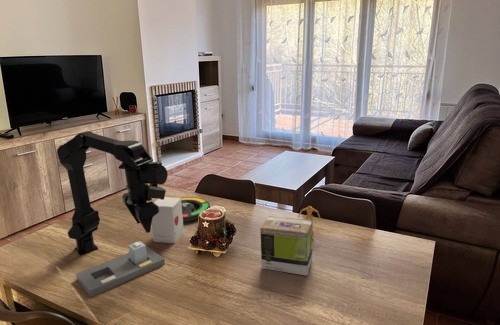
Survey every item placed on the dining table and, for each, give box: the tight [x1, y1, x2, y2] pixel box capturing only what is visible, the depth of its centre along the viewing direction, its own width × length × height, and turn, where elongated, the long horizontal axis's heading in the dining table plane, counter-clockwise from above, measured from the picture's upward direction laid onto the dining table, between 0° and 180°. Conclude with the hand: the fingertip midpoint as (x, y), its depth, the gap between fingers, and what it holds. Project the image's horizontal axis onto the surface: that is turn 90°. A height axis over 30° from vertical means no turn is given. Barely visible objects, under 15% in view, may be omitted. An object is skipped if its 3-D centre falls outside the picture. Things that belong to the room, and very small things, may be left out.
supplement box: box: [151, 196, 185, 244], centre depth 135 cm, size 9×9×15 cm
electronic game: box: [180, 196, 211, 223], centre depth 159 cm, size 23×23×5 cm
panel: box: [75, 245, 166, 298], centre depth 115 cm, size 12×24×3 cm, turn 133°
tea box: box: [259, 215, 314, 277], centre depth 115 cm, size 15×10×15 cm, turn 71°
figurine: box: [297, 205, 321, 238], centre depth 134 cm, size 8×6×12 cm
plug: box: [128, 240, 147, 265], centre depth 118 cm, size 4×4×8 cm
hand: (143, 227), depth 117 cm, fingers open, 9 cm apart
